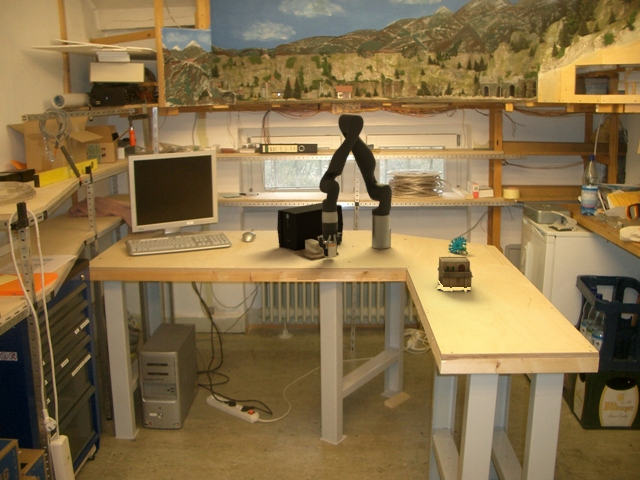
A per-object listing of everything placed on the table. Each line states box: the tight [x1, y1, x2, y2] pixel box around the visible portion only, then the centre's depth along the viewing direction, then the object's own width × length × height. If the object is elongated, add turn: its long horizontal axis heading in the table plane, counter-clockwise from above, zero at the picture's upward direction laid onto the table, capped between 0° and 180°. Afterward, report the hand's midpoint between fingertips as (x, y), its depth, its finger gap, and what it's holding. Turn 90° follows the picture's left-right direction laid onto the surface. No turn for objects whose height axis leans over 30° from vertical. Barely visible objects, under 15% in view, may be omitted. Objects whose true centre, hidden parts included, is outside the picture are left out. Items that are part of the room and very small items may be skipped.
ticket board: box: [293, 239, 339, 261], centre depth 305 cm, size 16×16×6 cm
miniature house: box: [437, 256, 474, 288], centre depth 251 cm, size 15×14×11 cm
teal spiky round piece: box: [448, 236, 468, 254], centre depth 305 cm, size 11×6×10 cm
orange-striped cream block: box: [324, 242, 337, 259], centre depth 295 cm, size 4×5×7 cm
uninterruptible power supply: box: [276, 202, 344, 252], centre depth 324 cm, size 16×34×20 cm, turn 131°
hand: (330, 255), depth 296 cm, fingers closed on orange-striped cream block, 4 cm apart
